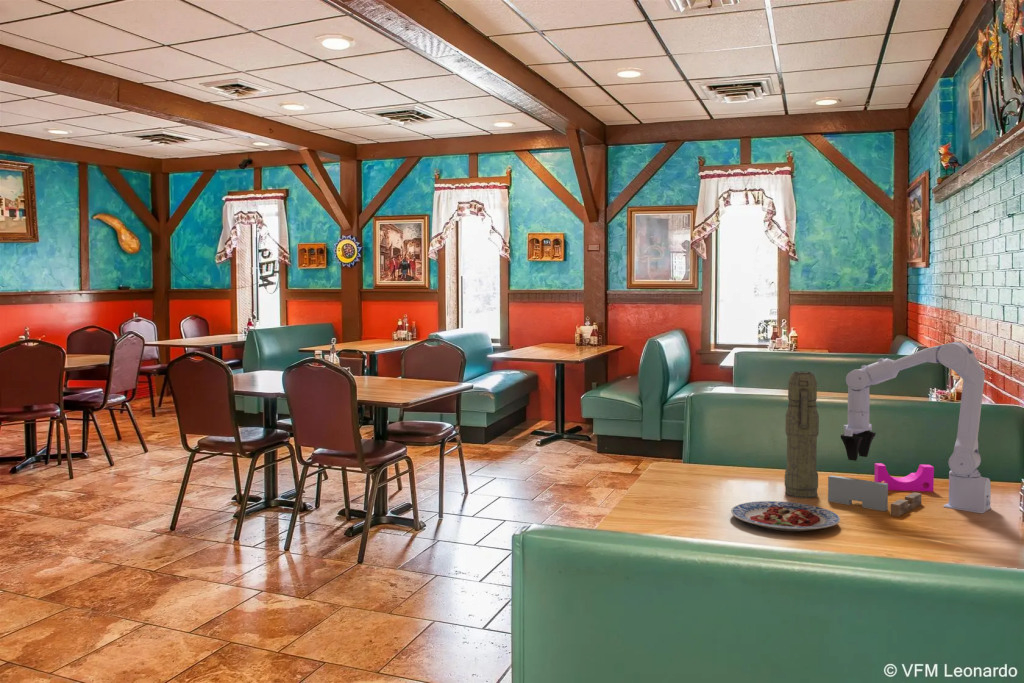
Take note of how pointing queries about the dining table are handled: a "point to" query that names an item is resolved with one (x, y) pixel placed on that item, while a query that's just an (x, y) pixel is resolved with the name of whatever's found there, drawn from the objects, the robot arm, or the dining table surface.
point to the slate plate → (858, 492)
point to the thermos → (802, 436)
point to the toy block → (907, 479)
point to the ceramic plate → (785, 515)
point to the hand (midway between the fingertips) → (857, 458)
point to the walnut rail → (906, 504)
